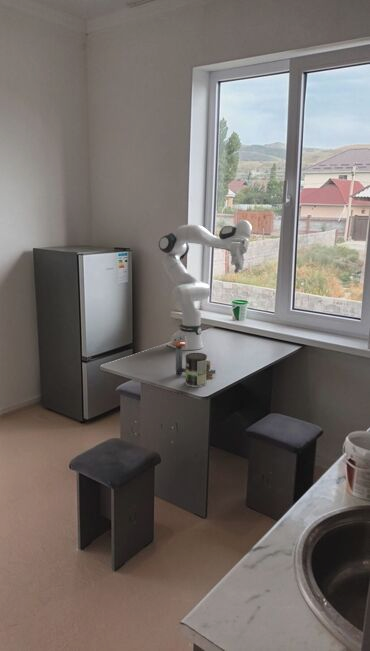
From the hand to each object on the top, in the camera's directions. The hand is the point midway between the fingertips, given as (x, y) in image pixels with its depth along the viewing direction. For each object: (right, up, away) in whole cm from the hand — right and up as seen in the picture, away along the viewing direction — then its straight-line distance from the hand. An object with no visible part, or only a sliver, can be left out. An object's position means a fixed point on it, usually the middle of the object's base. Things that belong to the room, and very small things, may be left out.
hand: (234, 268), depth 270 cm
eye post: (-16, -56, -18) cm, 61 cm away
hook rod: (-22, -56, -17) cm, 62 cm away
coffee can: (-21, -59, -28) cm, 69 cm away
